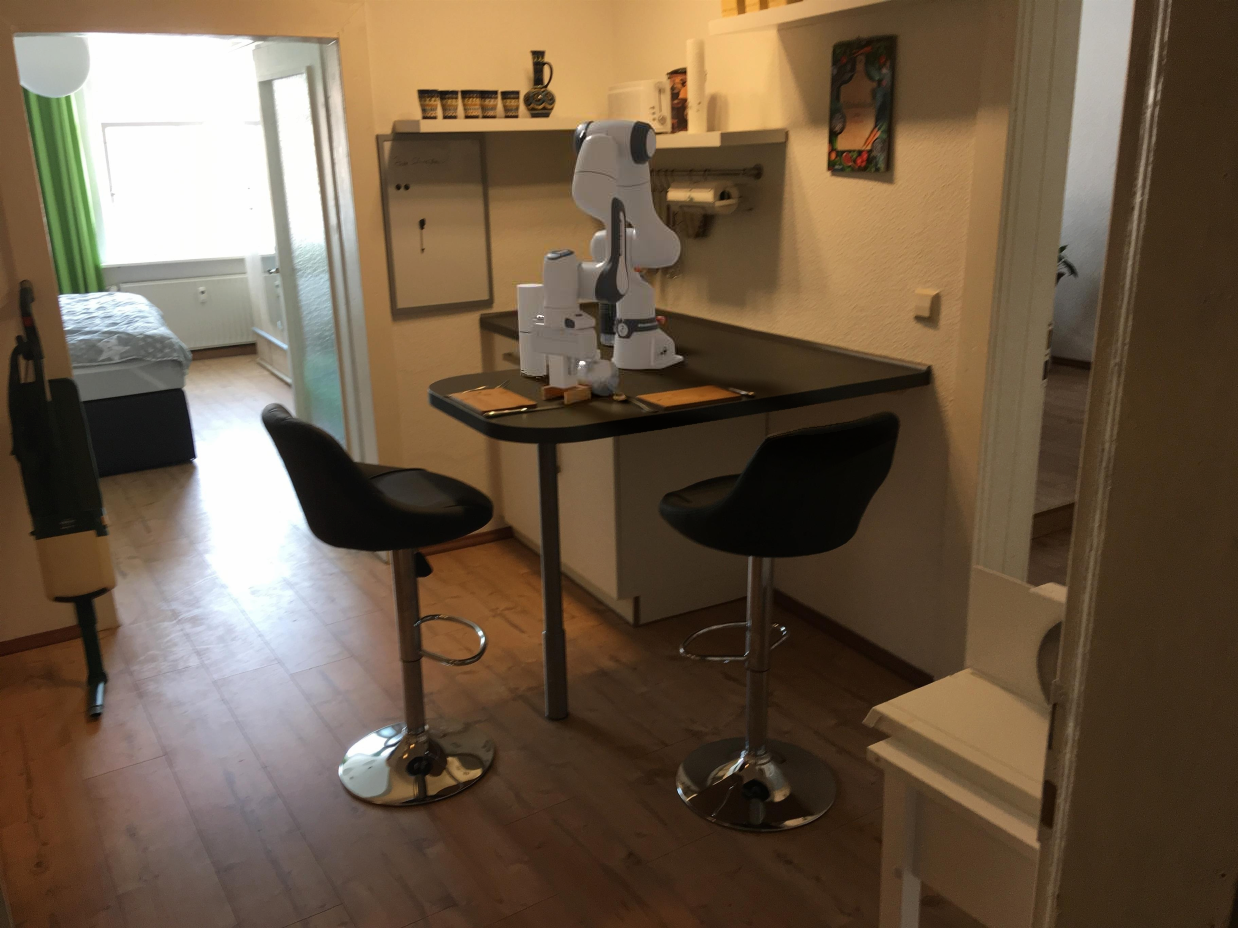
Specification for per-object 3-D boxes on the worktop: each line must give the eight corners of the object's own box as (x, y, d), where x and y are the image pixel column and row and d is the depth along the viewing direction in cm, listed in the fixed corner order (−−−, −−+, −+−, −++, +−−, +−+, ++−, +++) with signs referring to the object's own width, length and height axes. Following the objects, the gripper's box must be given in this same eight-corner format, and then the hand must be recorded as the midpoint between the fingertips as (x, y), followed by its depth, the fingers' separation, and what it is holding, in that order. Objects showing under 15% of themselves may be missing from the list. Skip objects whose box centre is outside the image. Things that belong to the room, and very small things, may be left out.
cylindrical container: (529, 378, 277) (525, 287, 269) (516, 374, 282) (512, 285, 275) (551, 375, 281) (547, 285, 273) (537, 371, 286) (534, 283, 279)
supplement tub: (656, 345, 324) (655, 263, 316) (612, 349, 317) (611, 266, 310) (634, 337, 337) (633, 259, 330) (592, 342, 331) (590, 262, 323)
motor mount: (585, 386, 266) (584, 345, 263) (619, 392, 258) (618, 350, 255) (537, 398, 253) (536, 355, 250) (571, 405, 246) (570, 360, 242)
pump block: (549, 385, 251) (548, 354, 248) (563, 382, 254) (562, 351, 252) (564, 388, 247) (562, 356, 245) (578, 385, 251) (577, 353, 249)
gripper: (523, 315, 250) (525, 370, 254) (582, 323, 237) (584, 380, 241) (541, 313, 255) (543, 366, 259) (600, 319, 242) (601, 376, 246)
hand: (563, 373), depth 250 cm, fingers closed on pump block, 5 cm apart
